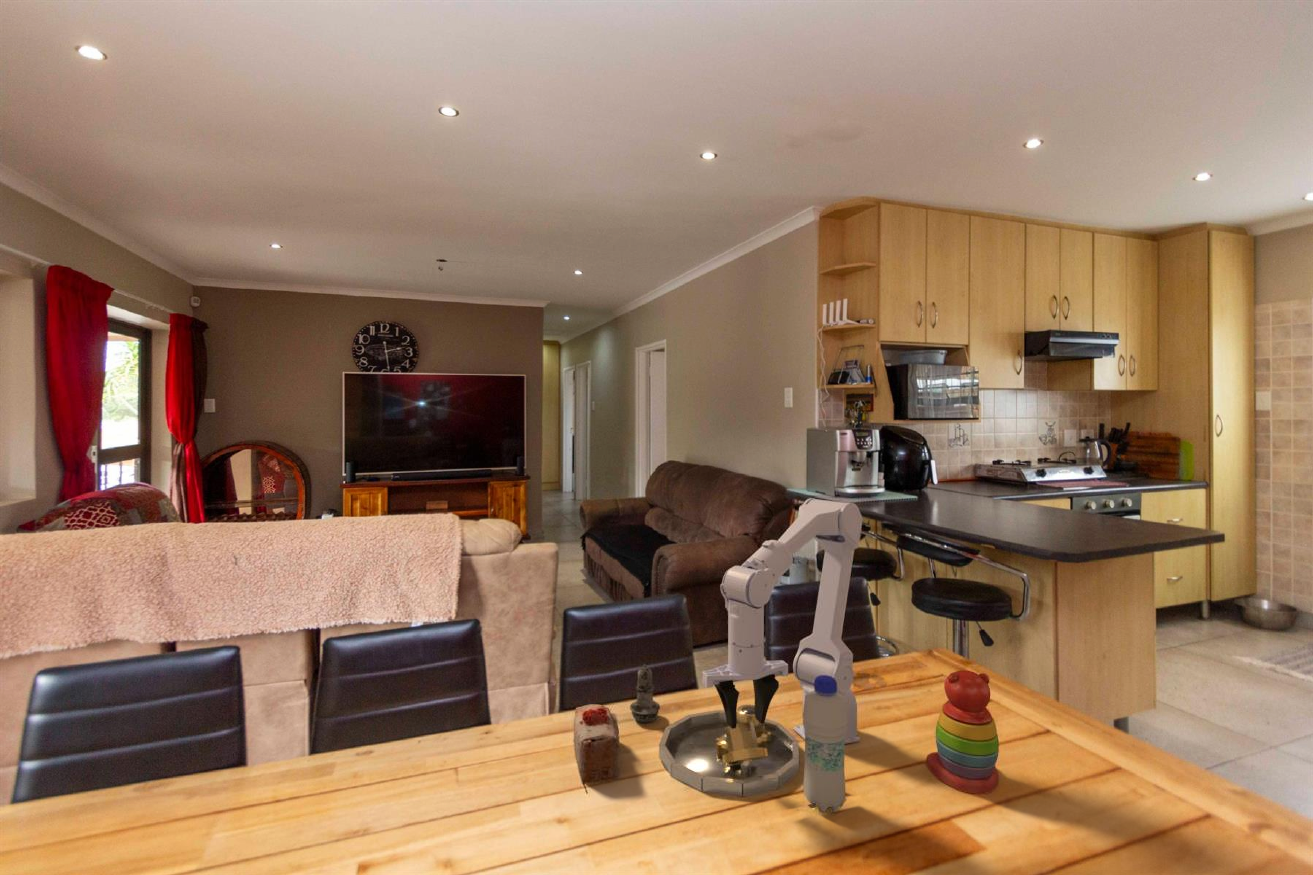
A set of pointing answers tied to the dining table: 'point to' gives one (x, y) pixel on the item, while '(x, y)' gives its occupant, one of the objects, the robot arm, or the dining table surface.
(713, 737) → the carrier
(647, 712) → the grey chess piece
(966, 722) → the stacking bear
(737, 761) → the planet gear
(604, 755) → the food item
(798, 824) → the dining table surface
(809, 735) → the bottle
